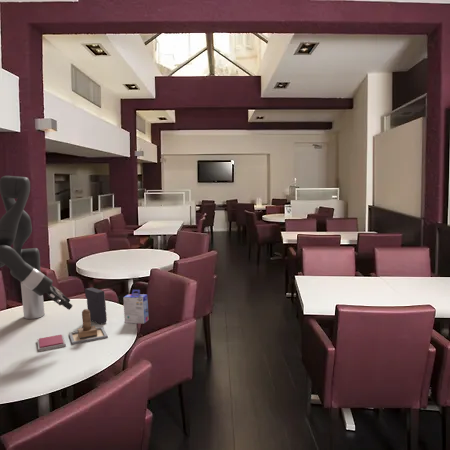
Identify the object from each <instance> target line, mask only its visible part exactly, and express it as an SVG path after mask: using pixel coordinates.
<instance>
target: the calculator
mask: <svg viewBox="0 0 450 450" xmlns="http://www.w3.org/2000/svg"><path fill="white" fill-rule="evenodd" d="M84 295H85V298H86V303H87V304H86V306H87V308H86V309H88V310H89V311H90V319H91V322H94V323H96V324H98V325H104V324H107V321H108V320H107V319H108V317H107V307H106V306H107V305H106V294H105V291H104V290H101V289H98V288H96V287H95V288H94V287H92V286H91V287H89V288H84Z"/></svg>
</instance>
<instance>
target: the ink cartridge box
mask: <svg viewBox="0 0 450 450" xmlns="http://www.w3.org/2000/svg"><path fill="white" fill-rule="evenodd" d="M122 298H123V299H122V300H123V312H124V313H123V315H124V316H123V318H124V323H125V324H142V325H143V324H144V325H145V324H146V323H147V322H148V321H149V320H150V318H149V303H148V301H149V300H148V294H144V293H143V294H141V290H140V289H132V291H131V294H126V295H125V296H122Z"/></svg>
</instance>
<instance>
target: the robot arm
mask: <svg viewBox="0 0 450 450" xmlns="http://www.w3.org/2000/svg"><path fill="white" fill-rule="evenodd" d="M30 192H31V181H30V179H29V177H26V176H16V175H4V176H1V178H0V196H1V199H2V204H3V205H4V209H5V213H4V214H3V215H2V216H1V218H0V268H3V267H5V266H6V267H7V268H9V270H10V271H9V274H10V275H11V276H12V277H13V278H14V279H16V280H17V281H19V282H20V289H21V291H20V292H21V299H22V301H21V302H22V311H23V318H24V319H27V320H34V319H39V318H41V317H44V316H45V314H46V313H45V302H44V294H46V295H47V297H48V298H49V299H50V300H52V301H53V302H54V303H56V304H58V306H62V307H64V308H66V309H67V310H68V311H69V310H71V309H72V308H73V304H72V303H71V299H70V298H68V297H67V296H66V295H65V294H64V293H63V292H62V290H60V289H58V288H57V287H56V286H53V283H54V281H53V279H51V278H50V277H48V276H47V275H45V274H44V273H43V272H41V271H42V269H41V254H40V250H39V249H38V248H37V247H33V248H32V247H31V248H23V246H24V244H25V242H27V240H28V239H29V238H30V237H31V234H32V232H33V227H32V219H31V216H30V215H29V214H28V212H26V211H25V210H24V209H25V207H26V205H27V202H28V199H29V196H30V194H31V193H30ZM15 199H16V200H15Z"/></svg>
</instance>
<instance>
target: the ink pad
mask: <svg viewBox="0 0 450 450" xmlns="http://www.w3.org/2000/svg"><path fill="white" fill-rule="evenodd" d="M36 342H37V351H38V352H42V351H48V350H53V349H59V348H64V347H66V346H67V345H66V341H65V337H64V334H57V335H52V336H45V337H40V338H38V339H36Z"/></svg>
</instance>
